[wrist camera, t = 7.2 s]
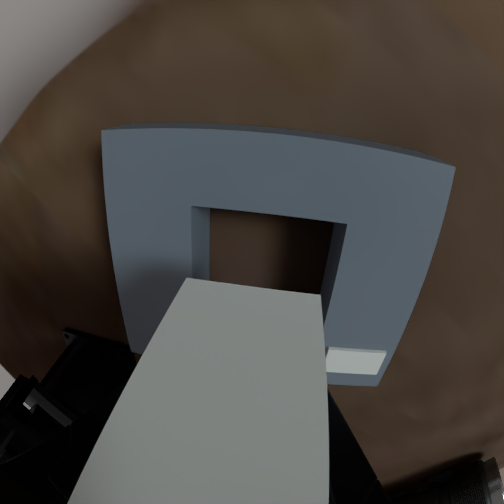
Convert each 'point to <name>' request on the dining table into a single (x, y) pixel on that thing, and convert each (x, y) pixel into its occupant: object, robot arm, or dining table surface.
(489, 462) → the muzzle brake
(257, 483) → the block
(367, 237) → the socket plate
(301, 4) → the dining table surface
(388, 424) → the dining table surface
